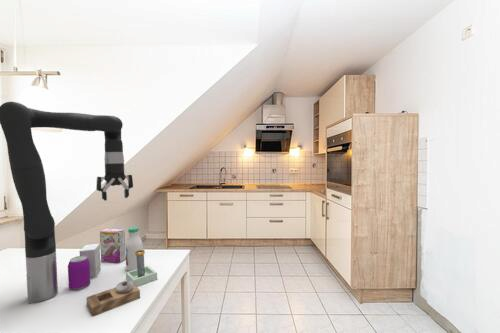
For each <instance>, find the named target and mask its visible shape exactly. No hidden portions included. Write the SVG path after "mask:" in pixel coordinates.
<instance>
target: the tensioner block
mask: <svg viewBox="0 0 500 333" xmlns="http://www.w3.org/2000/svg"><path fill="white" fill-rule="evenodd" d="M140 298H141V290H140V289H139V288H138V286H137V287H136V286H135V285H134V284H133V282H132V281H127V280H124V281H121V282H119V283H117V284H116V286H115V287H113V288H109V289H107V290H103V291H101V292H99V293H95V294H92V295H89V296H86V306H87V308H88V310H89V313H90V314H91V316H92V317H95V316H96V315H99V314H102V313H104V312H106V311H110V310H112V309H115V308H117V307H119V306H123V305H124V304H127V303H129V302H133V301H135V300H138V299H140Z"/></svg>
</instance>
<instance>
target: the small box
mask: <svg viewBox="0 0 500 333" xmlns="http://www.w3.org/2000/svg"><path fill="white" fill-rule="evenodd" d="M79 256H87V257H88V259H89V262H90V279H91V278H96V277H97V276H98V275H99V274H100V271H101V270H102V268H101V267H102V265H101V245H100V243H92V244H85V245H84V246H83V247H82V248H81V249H80V250H79Z"/></svg>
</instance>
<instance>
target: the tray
mask: <svg viewBox="0 0 500 333" xmlns="http://www.w3.org/2000/svg"><path fill="white" fill-rule="evenodd" d="M144 266H145V276H142V277H139V278H138V273H137V269H136V270H132V271H126V272H125V281H132V282H133V284H134V285H135V286H136V287H137V288H138V287H140V286H143V285H145V284H148V283H150V282H154V281H157V280H158V272H157V271H156V270H155V269H154V268H152V267H151V266H149V265H144Z"/></svg>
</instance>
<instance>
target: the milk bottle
mask: <svg viewBox="0 0 500 333" xmlns="http://www.w3.org/2000/svg"><path fill="white" fill-rule="evenodd" d="M139 229H140V228H139V226H132V227H129V228H128V229H127V230H128V238H127V240H126V241H125V256H126V259H125V268H126V271H127V272H129V271H132V270H136V269H137V256H136V255H135V252H136V251H139V250H144V247H143V241H142V239H141V237H140V235H139V234H140V233H139V231H140V230H139Z"/></svg>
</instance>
